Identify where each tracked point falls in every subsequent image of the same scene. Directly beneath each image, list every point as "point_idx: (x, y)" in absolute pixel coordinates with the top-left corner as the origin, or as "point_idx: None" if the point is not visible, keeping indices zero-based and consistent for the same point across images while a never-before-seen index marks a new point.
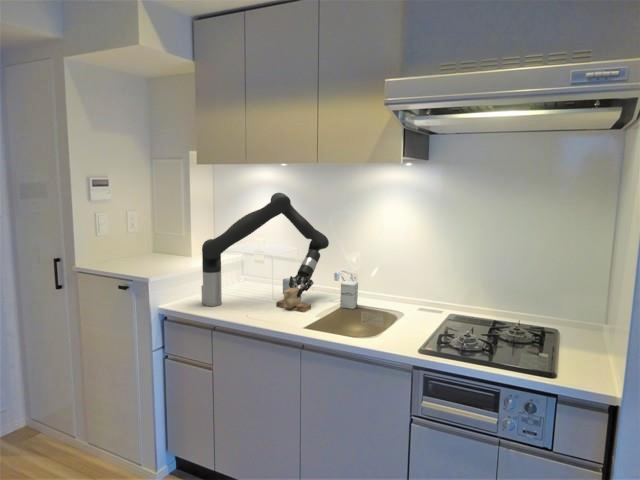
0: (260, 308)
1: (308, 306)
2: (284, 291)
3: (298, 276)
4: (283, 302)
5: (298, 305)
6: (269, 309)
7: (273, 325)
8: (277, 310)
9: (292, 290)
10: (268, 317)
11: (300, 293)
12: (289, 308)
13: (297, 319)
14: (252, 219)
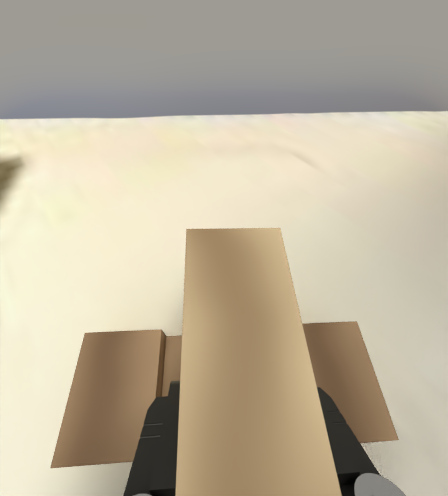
0: (360, 248)
1: (70, 410)
2: (271, 229)
3: None
4: None
5: (150, 344)
6: (314, 260)
7: (149, 135)
8: None
9: (219, 306)
10: (223, 179)
11: (144, 428)
12: None
13: (88, 217)
14: None
